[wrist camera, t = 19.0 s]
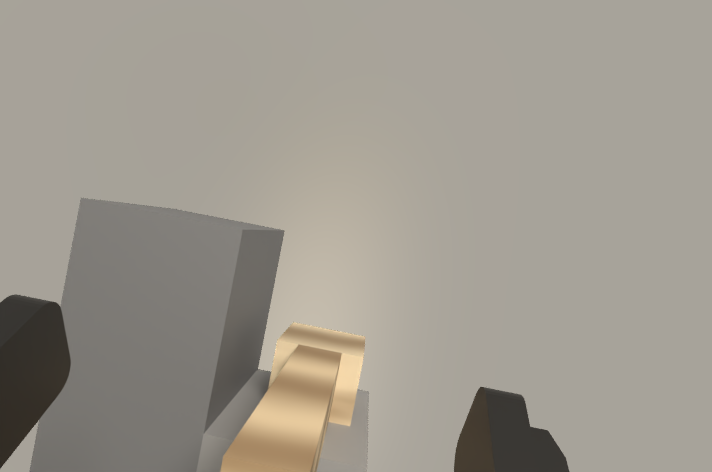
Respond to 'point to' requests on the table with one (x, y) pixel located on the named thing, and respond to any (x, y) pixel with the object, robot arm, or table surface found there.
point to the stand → (167, 345)
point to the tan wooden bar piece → (300, 401)
